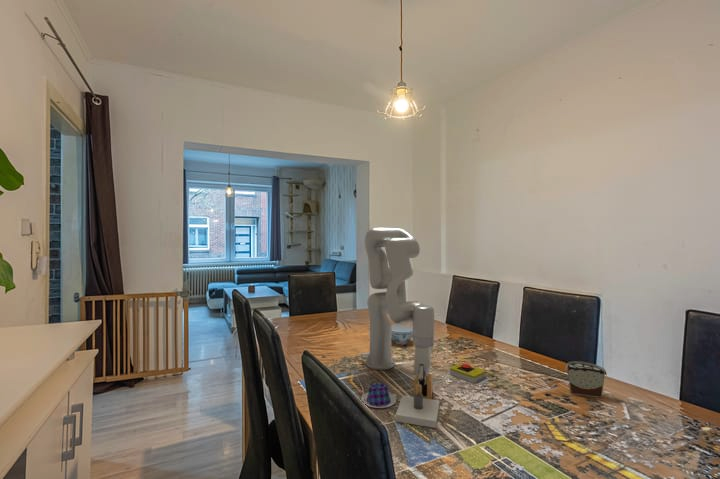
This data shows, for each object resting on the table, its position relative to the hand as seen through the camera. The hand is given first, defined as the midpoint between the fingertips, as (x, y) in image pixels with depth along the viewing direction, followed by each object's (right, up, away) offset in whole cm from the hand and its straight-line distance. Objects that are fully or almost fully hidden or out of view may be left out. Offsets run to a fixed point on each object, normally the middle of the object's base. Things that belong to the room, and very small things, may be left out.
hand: (423, 390), depth 116 cm
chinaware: (-1, -2, +59) cm, 59 cm away
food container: (+58, -1, +2) cm, 58 cm away
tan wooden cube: (0, -1, 0) cm, 1 cm away
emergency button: (+21, -2, +16) cm, 26 cm away
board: (-4, -1, -13) cm, 14 cm away
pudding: (-16, -2, -5) cm, 17 cm away
